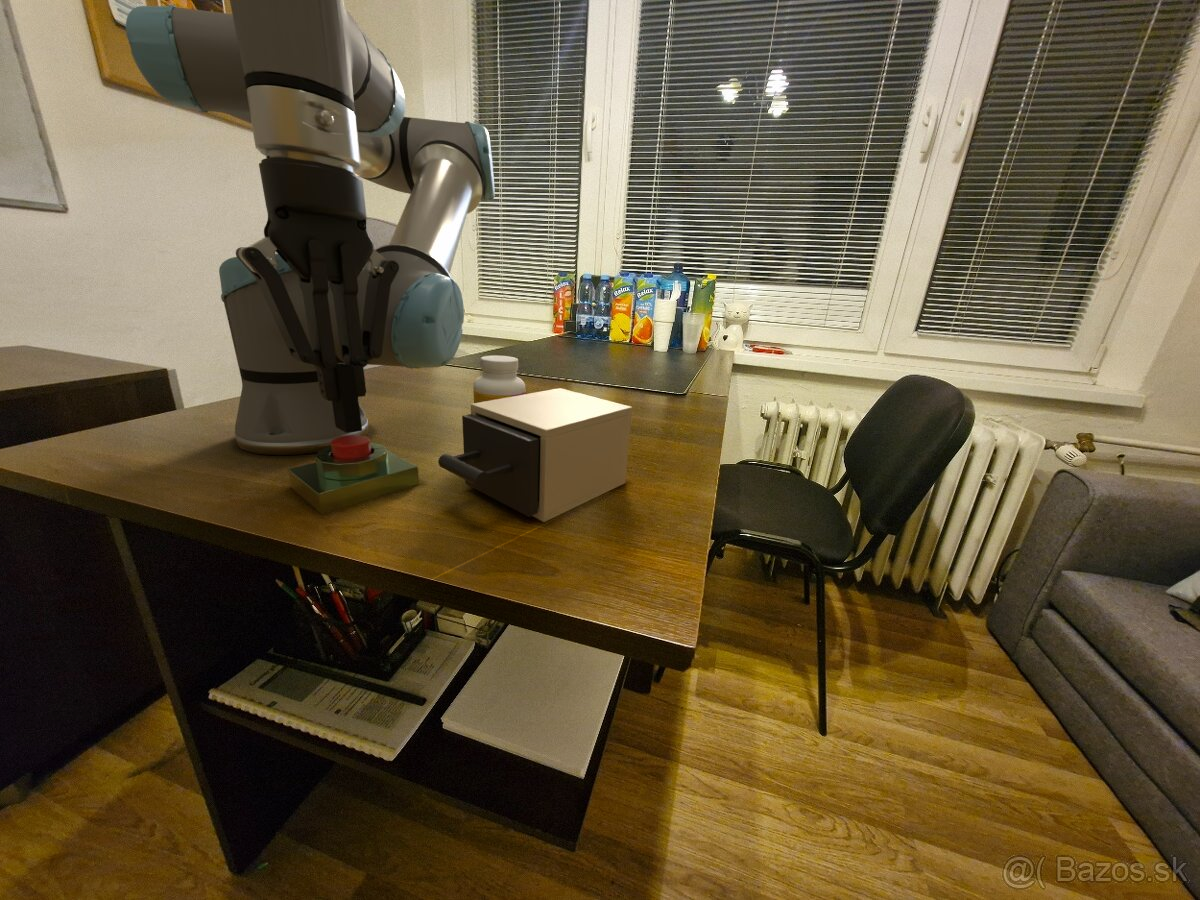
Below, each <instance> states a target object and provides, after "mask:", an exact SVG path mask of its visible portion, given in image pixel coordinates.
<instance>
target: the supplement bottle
mask: <svg viewBox="0 0 1200 900" xmlns="http://www.w3.org/2000/svg"><path fill="white" fill-rule="evenodd" d="M480 368H481V370H482V374H481V376H478V377H477V378H475V380H474V381H473V388H472V389H473V392H472V393H473V404H474V403H479V402H485V401H490V400H496V399H502V398H507V397H513V396H518V395H524V394H527V393H526V392H527V391H526V384H525V381H524V380H523V379H522V378H520V377H518V376H517V372H518V369H519V359H518V358H517V357H513V356H509V355H483V356H481V357H480Z"/></svg>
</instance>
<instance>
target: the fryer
mask: <svg viewBox="0 0 1200 900" xmlns="http://www.w3.org/2000/svg"><path fill="white" fill-rule="evenodd" d="M470 414H473V415H475V416H478V417H481V418H484V419H486V417H489V418H492V419H495V420H498V421H500V422H503V423H506V424H509V425H511V426H514V427H517V428H520V429H522V430H525V431H528V432H531V433H533V434H536V435H539V436H541V439H540V490H539V502H538V510H537V514H534V515H532V516H531V517H533V518H535V519H537V520H539V521H541V522H543V523H546V522H548V521H549V520H551V519H553V518H556V517H558V516H560V515H562V514H565V513H566V512H569V511H570V510H573V509H574V508H576V507H578V506H581V505H583V504H585V503H587V502H589V501H591V500H593V499H595V498H597V497H599V496H601V495H603V494H605V493H608V492H609V491H612V490H614V489H616V488H619V487H620V486H622V485H624V484H626V480H627V479H626V478H627V467H628V458H629V447H630V445H629V444H630V435H631V425H632V415H633V406H630V405H626V404H622V403H618V402H616V401H615V402H614V401H611V400H607V399H604V398H599V397H595V396H592V395H587V394H584V393H580V392H576V391H573V390H568V389H565V388H561V387H558V388H553V389H546V390H542V391H536V392H530V393H525V394H524V395H518V396H513V397H507V398H502V399H496V400H490V401H485V402H479V403H474V402H473V403H470Z"/></svg>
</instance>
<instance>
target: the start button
mask: <svg viewBox="0 0 1200 900" xmlns="http://www.w3.org/2000/svg"><path fill="white" fill-rule="evenodd" d="M370 442H371V438H370V437H369V436H367V435H366V436H363V435H348V436H342V437H339V438H336V439H334V440H332V441H331V446H332V453H333V458H334V459H341V460H348V459H358V458H362V457H367V456H369V455H370V454H372V451H371V443H372V442H371V443H370Z"/></svg>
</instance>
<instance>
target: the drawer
mask: <svg viewBox="0 0 1200 900" xmlns="http://www.w3.org/2000/svg"><path fill="white" fill-rule="evenodd" d="M461 418H462V444H463V453H461V454H457V455H454V456H452V455H451V454H449V453H444V454H442V455H440V456H439V458H438V466H439V467H440V468H441V469H444V470H446V471H448V472H450V473H452V474H454V475H456V476H457V477H459V478H461V479H463V480H464V484H465V485H467V486H469V487H471V488H473V489H474V490H477V491H478V492H480V493H483V494H484V495H486V496H488V497H490V498H492V499H494V500H496V501H497V502H499V503H501V504H503V505H505V506H506V507H509V508H511V509H513V510H515V511H516V512H518V513H520V514H522V515H524V516H526V517H528V518H530V517H533V516H532V515H534V514H537V510H538V502H539V490H540V439H541V436H539V435H536V434H533V433H531V432H528V431H525V430H522V429H520V428H517V427H514V426H511V425H509V424H506V423H503V422H500V421H498V420H495V419H492V418H489V417H486V419H484V418H481V417H478V416H475V415H473V414H471V413H470V414H463V415H462V416H461Z"/></svg>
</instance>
